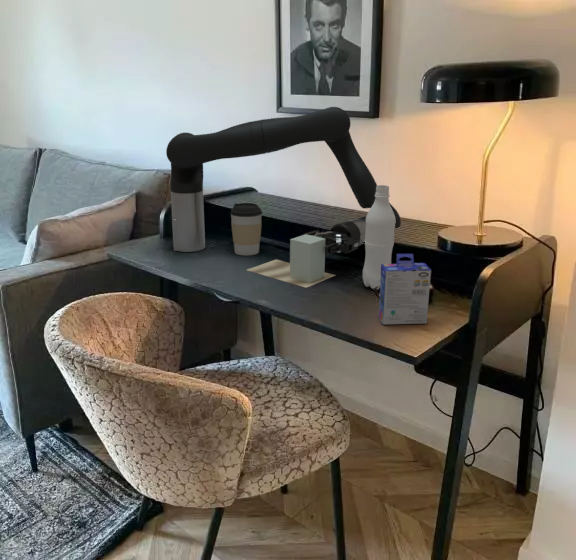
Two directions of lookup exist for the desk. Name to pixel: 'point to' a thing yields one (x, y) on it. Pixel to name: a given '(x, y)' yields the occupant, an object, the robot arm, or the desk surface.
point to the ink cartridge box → (404, 292)
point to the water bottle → (378, 237)
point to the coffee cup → (246, 228)
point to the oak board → (283, 273)
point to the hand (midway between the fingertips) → (313, 247)
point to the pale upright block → (307, 258)
